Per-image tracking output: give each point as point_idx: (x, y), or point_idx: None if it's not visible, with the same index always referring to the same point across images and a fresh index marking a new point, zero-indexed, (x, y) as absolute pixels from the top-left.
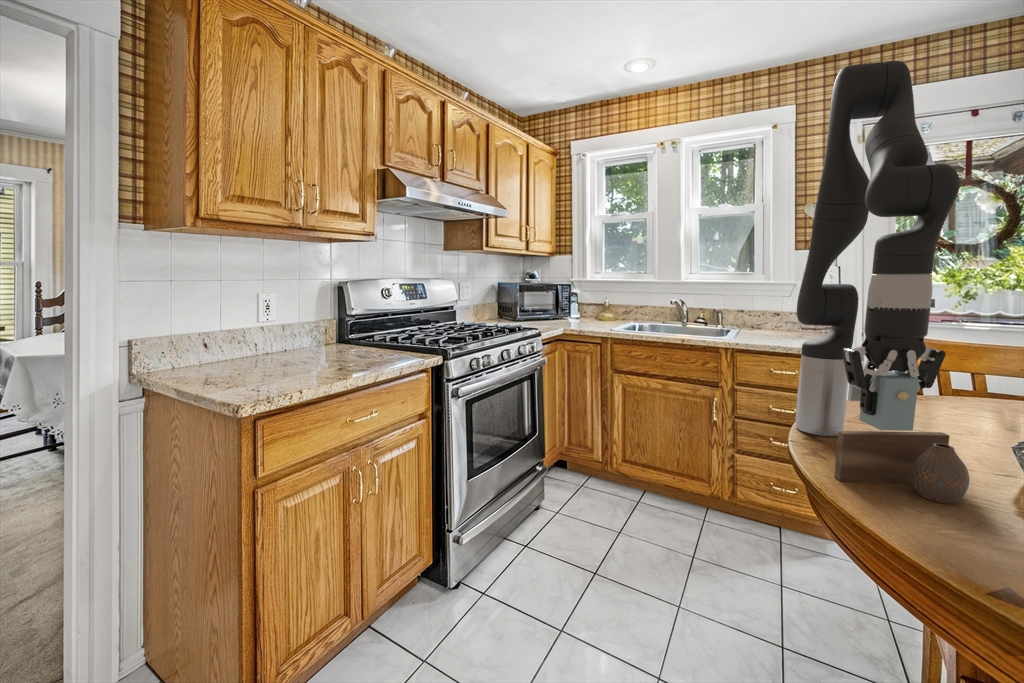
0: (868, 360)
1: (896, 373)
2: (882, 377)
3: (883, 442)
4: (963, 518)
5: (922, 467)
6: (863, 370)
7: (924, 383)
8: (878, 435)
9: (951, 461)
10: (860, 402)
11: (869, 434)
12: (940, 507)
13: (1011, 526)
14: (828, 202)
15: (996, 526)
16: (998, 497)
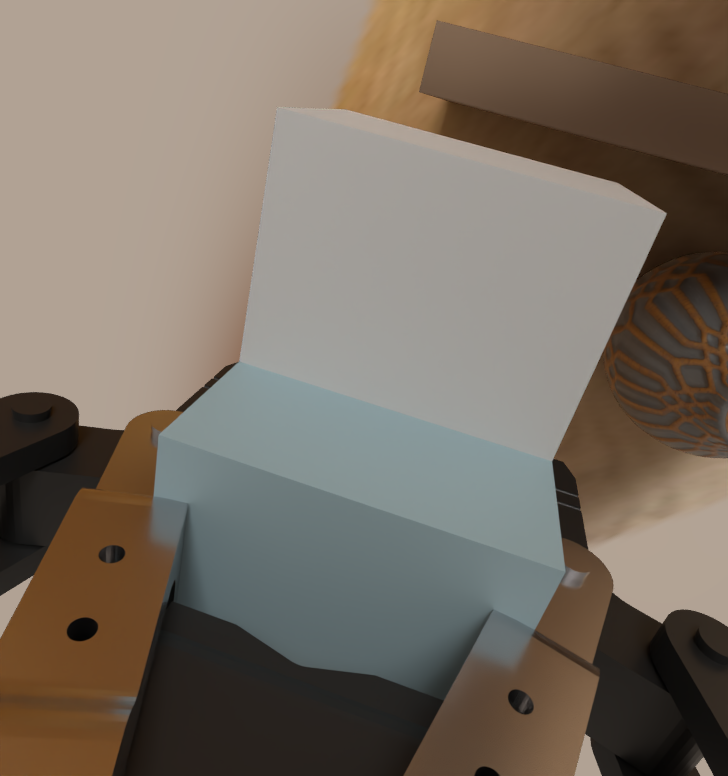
0: (10, 632)
1: (474, 633)
2: None
3: (660, 156)
4: (586, 444)
5: (625, 356)
6: (77, 497)
7: (592, 749)
8: (635, 149)
9: (698, 448)
10: (213, 381)
11: (578, 133)
12: (602, 377)
13: (670, 511)
14: None
15: (624, 498)
16: None
